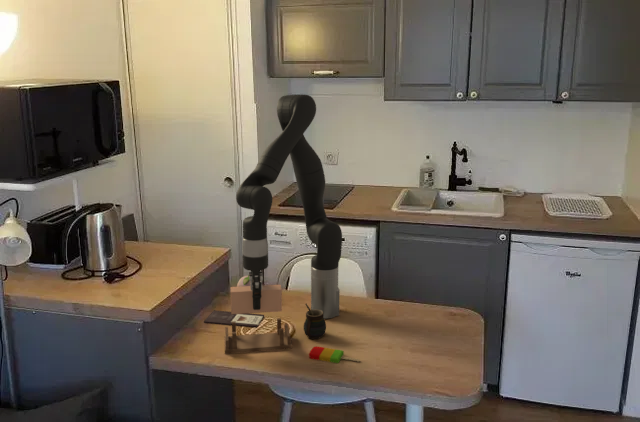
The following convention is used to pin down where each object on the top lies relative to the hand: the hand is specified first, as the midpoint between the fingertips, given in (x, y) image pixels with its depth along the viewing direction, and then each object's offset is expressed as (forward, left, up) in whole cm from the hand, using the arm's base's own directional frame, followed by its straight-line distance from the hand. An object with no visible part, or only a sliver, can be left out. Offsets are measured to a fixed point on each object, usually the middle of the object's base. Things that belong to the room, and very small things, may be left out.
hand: (256, 305), depth 179 cm
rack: (0, 0, -13) cm, 13 cm away
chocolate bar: (+6, -19, -13) cm, 24 cm away
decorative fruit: (+1, -35, -13) cm, 37 cm away
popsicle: (-22, +12, -13) cm, 28 cm away
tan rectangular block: (0, 0, -1) cm, 1 cm away
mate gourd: (-18, -3, -13) cm, 22 cm away
